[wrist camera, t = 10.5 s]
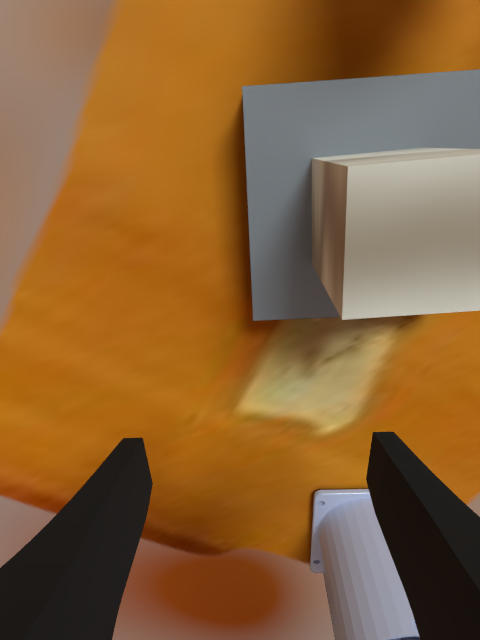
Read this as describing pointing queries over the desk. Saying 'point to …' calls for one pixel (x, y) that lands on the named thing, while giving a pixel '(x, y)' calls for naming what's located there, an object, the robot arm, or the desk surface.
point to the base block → (332, 140)
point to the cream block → (398, 231)
